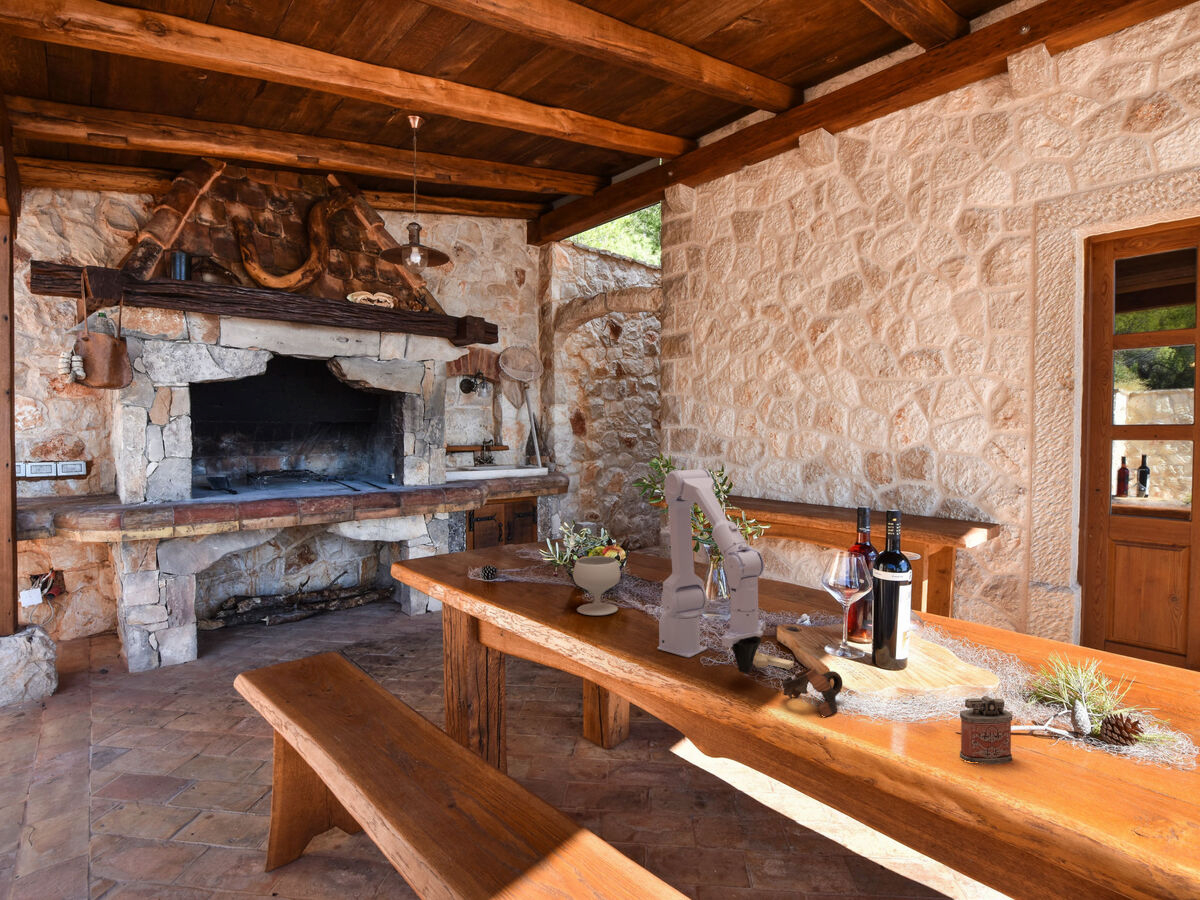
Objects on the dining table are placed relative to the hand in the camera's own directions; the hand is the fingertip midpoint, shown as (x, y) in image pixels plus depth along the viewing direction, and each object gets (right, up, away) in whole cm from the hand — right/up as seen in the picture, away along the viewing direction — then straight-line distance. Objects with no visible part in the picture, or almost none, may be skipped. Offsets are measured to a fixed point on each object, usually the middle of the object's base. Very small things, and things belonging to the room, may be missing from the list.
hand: (744, 671), depth 137 cm
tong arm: (+4, 0, +9) cm, 10 cm away
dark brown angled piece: (+11, -3, -11) cm, 16 cm away
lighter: (+32, -3, -32) cm, 45 cm away
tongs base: (+7, -2, +12) cm, 14 cm away
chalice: (-31, -1, +55) cm, 63 cm away
